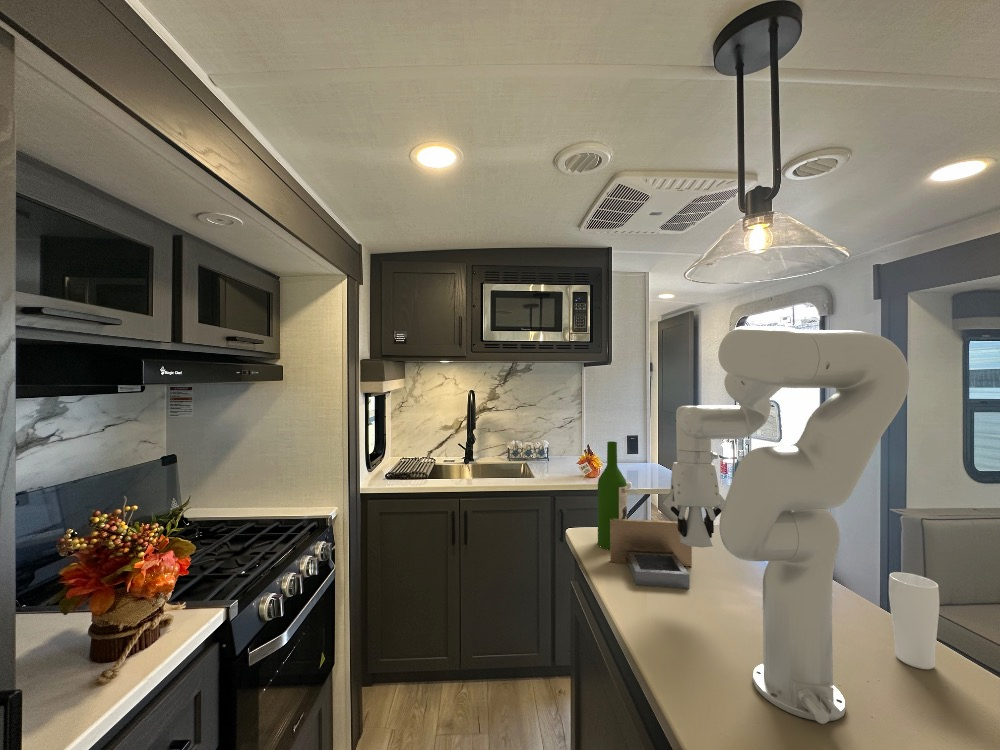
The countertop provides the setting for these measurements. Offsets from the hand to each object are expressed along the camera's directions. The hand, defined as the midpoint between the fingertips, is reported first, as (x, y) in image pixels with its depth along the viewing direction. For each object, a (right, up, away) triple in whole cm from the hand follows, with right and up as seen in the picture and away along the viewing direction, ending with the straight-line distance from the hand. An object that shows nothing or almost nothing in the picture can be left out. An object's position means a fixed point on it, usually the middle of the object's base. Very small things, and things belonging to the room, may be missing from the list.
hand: (695, 534), depth 103 cm
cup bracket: (-4, -16, +14) cm, 22 cm away
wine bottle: (-11, -16, +35) cm, 40 cm away
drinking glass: (+30, -15, -23) cm, 41 cm away
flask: (0, -2, 0) cm, 2 cm away
